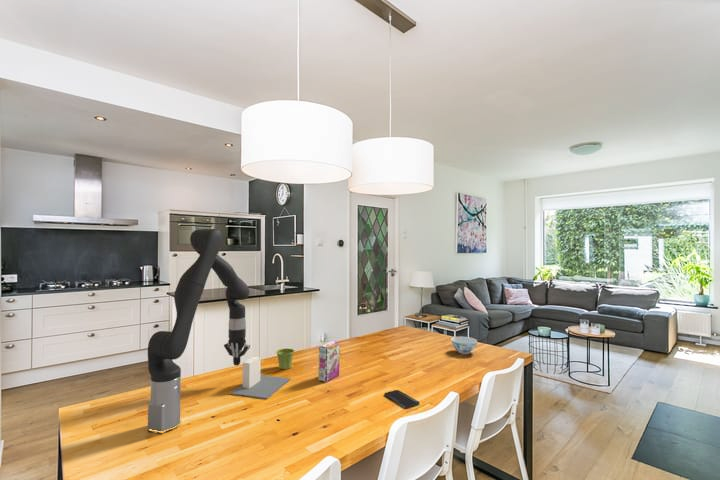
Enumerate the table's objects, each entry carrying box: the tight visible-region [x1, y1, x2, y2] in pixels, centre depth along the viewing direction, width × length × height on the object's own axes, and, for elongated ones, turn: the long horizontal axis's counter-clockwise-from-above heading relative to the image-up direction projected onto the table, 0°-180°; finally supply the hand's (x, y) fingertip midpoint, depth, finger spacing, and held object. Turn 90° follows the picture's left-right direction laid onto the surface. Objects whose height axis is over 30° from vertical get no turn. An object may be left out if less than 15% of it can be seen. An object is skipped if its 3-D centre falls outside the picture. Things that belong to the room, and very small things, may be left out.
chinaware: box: [450, 336, 478, 355], centre depth 209 cm, size 15×15×8 cm
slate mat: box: [229, 374, 292, 400], centre depth 157 cm, size 22×18×1 cm
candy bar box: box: [318, 340, 341, 383], centre depth 168 cm, size 11×5×16 cm, turn 149°
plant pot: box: [275, 348, 296, 370], centre depth 182 cm, size 9×9×9 cm
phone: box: [383, 389, 420, 410], centre depth 145 cm, size 8×1×15 cm
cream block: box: [241, 356, 262, 388], centre depth 159 cm, size 9×4×11 cm, turn 164°
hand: (236, 364), depth 161 cm, fingers closed
